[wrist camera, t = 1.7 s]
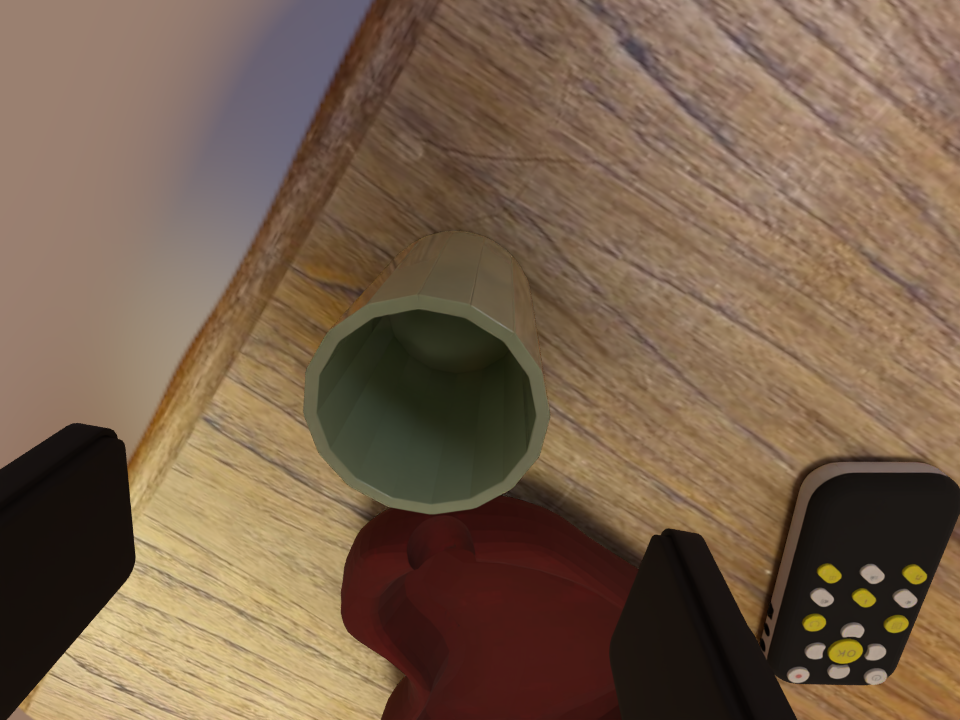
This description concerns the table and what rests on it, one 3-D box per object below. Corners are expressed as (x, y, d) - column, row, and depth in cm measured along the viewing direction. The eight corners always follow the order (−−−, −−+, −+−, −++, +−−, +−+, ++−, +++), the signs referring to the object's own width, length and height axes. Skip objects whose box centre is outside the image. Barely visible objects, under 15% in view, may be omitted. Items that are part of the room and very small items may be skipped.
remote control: (946, 456, 23) (985, 484, 21) (870, 657, 28) (895, 694, 26) (801, 456, 23) (826, 483, 21) (751, 655, 28) (768, 691, 26)
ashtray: (676, 716, 30) (707, 819, 26) (400, 715, 32) (382, 813, 27) (708, 457, 24) (757, 535, 19) (352, 467, 25) (317, 543, 20)
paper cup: (391, 216, 20) (310, 273, 12) (547, 247, 20) (575, 324, 12) (374, 360, 22) (298, 491, 14) (514, 386, 23) (519, 531, 14)
